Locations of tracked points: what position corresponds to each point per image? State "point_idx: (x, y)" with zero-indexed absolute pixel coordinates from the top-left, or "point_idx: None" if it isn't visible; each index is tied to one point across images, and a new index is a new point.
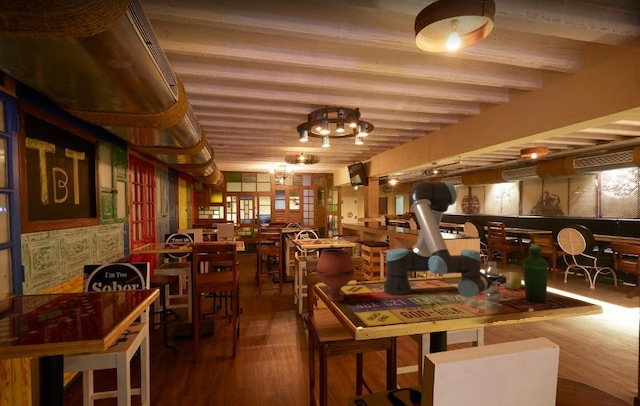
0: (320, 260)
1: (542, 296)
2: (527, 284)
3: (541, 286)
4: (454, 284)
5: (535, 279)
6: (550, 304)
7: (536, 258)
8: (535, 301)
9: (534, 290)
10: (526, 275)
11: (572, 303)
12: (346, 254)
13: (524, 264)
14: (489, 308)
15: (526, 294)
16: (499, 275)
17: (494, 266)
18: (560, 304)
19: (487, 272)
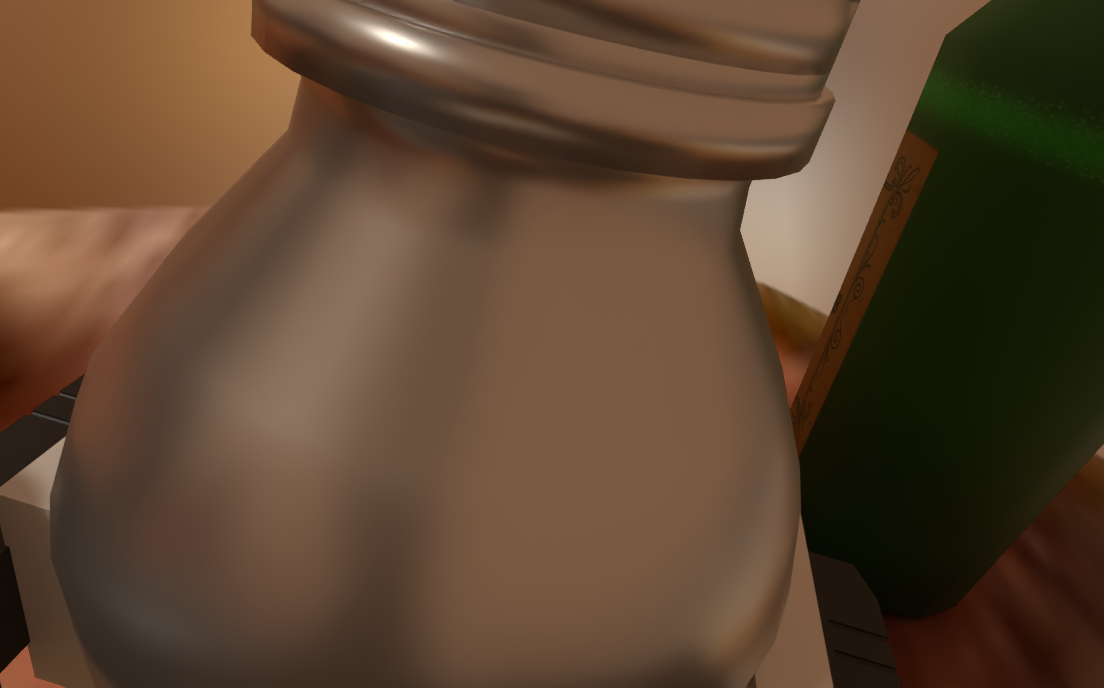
0: None
1: (997, 559)
2: (907, 420)
3: (1077, 464)
4: (7, 226)
5: (1091, 385)
6: (1022, 629)
7: None
8: (898, 613)
9: (969, 511)
10: (968, 297)
11: (1088, 516)
12: None
13: (1033, 99)
14: None
15: (812, 510)
16: (777, 653)
17: (714, 198)
18: (1068, 587)
19: (145, 653)
